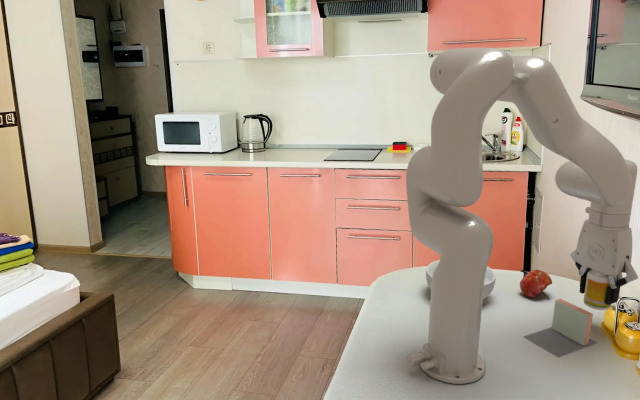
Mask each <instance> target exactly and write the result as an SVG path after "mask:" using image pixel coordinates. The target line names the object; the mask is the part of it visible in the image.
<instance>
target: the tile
mask: <svg viewBox="0 0 640 400" xmlns="http://www.w3.org/2000/svg"><path fill="white" fill-rule="evenodd" d="M593 316H594V314H593V312H590V311H588V310H585V309H584V308H581V307H580V306H577V305H575V304H573V303H570V301H566V300H564V299H562V298H557V299H555V302H554V309H553V316H552V323H551V327H552V329H553V330H555V331H557V332H559V333H561V334H563V335H565V336H566V337H568V338H570V339H572V340H574V341H576V342H578V343H579V344H581V345H584V346H585V345H587V344H589V338H590V336H591V330H592V323H593Z"/></svg>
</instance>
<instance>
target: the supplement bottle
mask: <svg viewBox="0 0 640 400" xmlns="http://www.w3.org/2000/svg"><path fill="white" fill-rule="evenodd" d="M609 286H610V282H609V276H608V275H605V274H603V273H600V272H598V271H595V270H590V271H589V272H588V273H587V279H586V286H585V293H583V294H584V295H583V303H584V305H585V306H587V307H588V308H589V309H594V310H598V311H606V310H609V309H611V307H612V304H610V305H607V304H605V298H606V291H607V287H609Z"/></svg>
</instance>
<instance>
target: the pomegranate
mask: <svg viewBox="0 0 640 400" xmlns="http://www.w3.org/2000/svg"><path fill="white" fill-rule="evenodd" d="M519 272H521V273H523V276H522V278H521V280H520V282H519V288H520V291H521V292H522V294H523V295H524V296H525V297H527V298H528V299H529V298H530V299H535V298H536V297H537V296H538V295H539V294H541V293H542V294H543V296H544V297H546V298H547V299H548V300H551V299H550V298H549V297H548V295H546V294H545V292H544V291H546V290H547V287H548V286H550V285H552V284H553V281H552V278H551V276H550V275H549V274H548V273H547V272H545V271H543V270H540V269H534V270H531V271H529V272H528V271H526V270H524V269H521V270H520V271H519Z"/></svg>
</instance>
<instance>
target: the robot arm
mask: <svg viewBox="0 0 640 400" xmlns="http://www.w3.org/2000/svg"><path fill="white" fill-rule="evenodd" d="M559 75H560V74H559V73H558V72H557V70H556V68H555V66H554V65H553V64H552V62H550V61H549V59H547V58H545V57H542V56H538V55H537V56H536V55H510V53H508V52H507V51H504V50H502V49H500V48H499V49H498V48H494V47H468V48H467V47H465V48H464V47H463V48H462V47H460V48H459V47H457V48H449V49H446V50H443V51H442V52H440V53H439V54H438V55H437V56H435V58H434V59H433V61H432V62H431V65H430V69H429V78H430V82H431V85H432V86H433V87H434V89H435V90H436V91H437V92H439V93H440V94H442V95H443V96H442V98H441V99H440V101H439V102H438V104H437V105H436V108H435V110H434V112H433V115H432V118H431V124H430V145H427V146H423V147H422V148H420V149H418V150H417V151H415V153H414V154H413V155H412V156H411V158H410V159H409V162H408V164H407V168H406V172H405V173H406V174H405V186H406V196H407V197H406V199H407V206H408V207H407V208H408V209H407V210H408V218H409V219H408V221H409V225H410V229H411V233H412V235H413V236H414V238H415V239H416V240H417V241H419V243H421V244H422V245H424V246H425V247H427V248H429V249H430V250H432V251H433V252H435V253H436V254H438V256H439V260H440V261H439V264H438V266H437V267H436V269H435V271H434V273H433V276H432V282H431V289H430V300H429V301H430V302H429V318H428V320H429V322H428V336H427V337H428V338H427V340H428V341H427V343H424V344H423V348H422V349H423V350H421V351H420V352H419V353H418V354H416V353H415V354H413V355H409V356H407V358H406V363H407V364H408V366H409V367H416V366H418V365H419V366H420V368H421V370H422V371H423V372H424V373H425V374H427V375H428V376H429V377H431V378H433V379H435V380H438V381H440V382H444V383H446V384H447V383H448V384H454V385H455V384H456V385H457V384H458V385H461V384H462V385H463V384H471V383H474V382H476V381H478V380H480V379H481V378H483V376H484V375H485V372H486V362H485V360H484V359H483V357H482V355H480V354H479V346H480V345H479V344H480V336H481V335H480V332H481V323H482V322H481V321H482V311H483V300H484V299H483V289H484V279H485V273H486V268H487V266H488V264H489V261H490V257H491V254H492V251H493V249H494V240H495V239H494V232H493V230H492V228H491V226H490V224H489V223H488V222H487V221H486V220H485V219H483V218H482V217H480V216H479V215H478V214H476V213H473V212H471V211H469V210H468V209H464V208H467V207H470V206H473V205H475V204H476V202H478V200H479V199H480V198H481V196H482V193H483V188H484V167H483V143H482V142H483V141H482V139H483V125H484V121H485V119H486V117H487V115H488V113H489V111H490V110H491V108H492V107H493V106H494V105H495V103H496V102H504V103H505V102H506V103H512V104H514V105H515V106H516V108H517V110H518V111H519V113H520V115H521V117H522V118H523V120H524V121H525V123H526V125H527V127H528V128H529V130H530V132H531V134H532V135H533V138H535V140H536V141H537V142H538V143H539V144H540V145H541V146H543V147H545V148H546V149H548V150H549V151H551V152H552V153H555V154H556V155H558V156H560V157H562V158H564V159H566V160H568V161H565V162H564V163H563V164H561V165H560V166H559V168H558V169H557V171H556V173H555V176H554V181H555V185H556V187H557V188H558V190H560V191H561V192H563V193H564V194H565V195H567V196H570V197H573V198H577V199H580V200H584V201H587V202H590V206H587V207H585V211H584V212H585V213H586V214H588V218H587V219H585V220H584V221H583V224H582V227H581V228H580V229H581V230H580V232H579V236H578V239H577V240H578V241H577V244H576V249H575V250H573V251H572V252H571V253H570V258H571V259H572V261H573V262H574V264H575V267H576V268H577V271H578V275H579V276H580V282H579V294H584V293H585V286H586V279H587V273H588V272H589V271H590V270H595V271H598V272H600V273H603V274H605V275H608V276H609V282H610V286H609V287H607V291H606V298H605V304H607V305H610V304H611V305H612V304H616V303H617V302H618V301H619V299H620V291H621V288H622V287H623V286H625V285H627V284H629V283H631V282H634V281H636V280H638V279H639V276H638V274H637V272H636V271H635V269H634V267H633V265H632V257H633V233H632V232H633V231H632V230H633V229H632V228H631V227H630V222H631V215H632V209H633V202H634V196H635V189H636V184H637V177H638V176H637V175H638V165H637V163H635V162H634V161H632V160H630V159H626V158H624V156H623V155H622V152H621V151H620V150H619V149H618V147H616V146H615V144H614V143H613V142H611V140H609V139H608V138H607V137H606V136H605V135H603V134H602V133H601V132H600V131H599V130H598V129H596V127H594V126H593V125H591V124H590V123H589V122H587V121H586V120H585V119H583V117H582V116H581V115H580V113H579V111H578V110H577V107H576V106H575V104H574V101H573V100H572V98H571V97H570V95H569V93H568V91H567V89H566V87H565V84H564V83H563V81H562V79H561V77H560V76H559ZM623 273H624V274H626V276H624V277H623Z"/></svg>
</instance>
